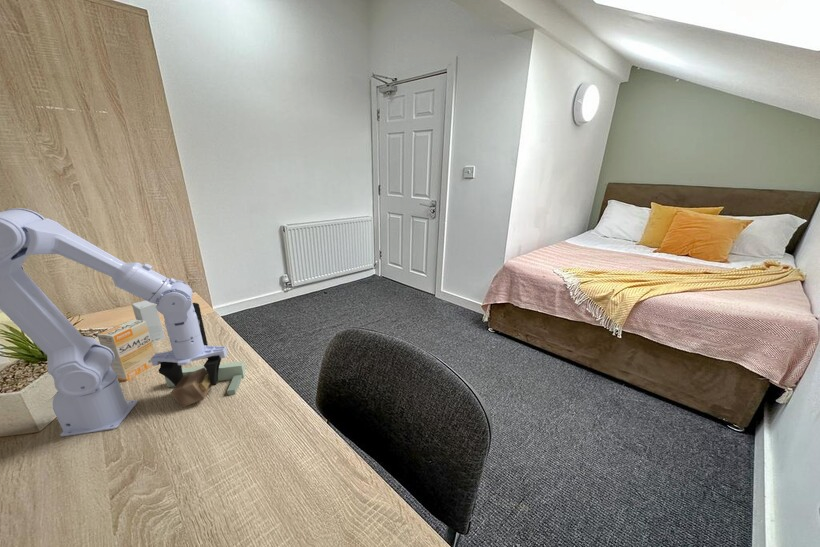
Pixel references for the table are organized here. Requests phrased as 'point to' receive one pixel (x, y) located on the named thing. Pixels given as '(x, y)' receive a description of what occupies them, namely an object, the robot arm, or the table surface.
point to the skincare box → (149, 319)
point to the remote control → (200, 323)
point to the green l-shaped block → (222, 374)
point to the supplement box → (129, 348)
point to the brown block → (192, 387)
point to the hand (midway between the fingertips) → (198, 385)
